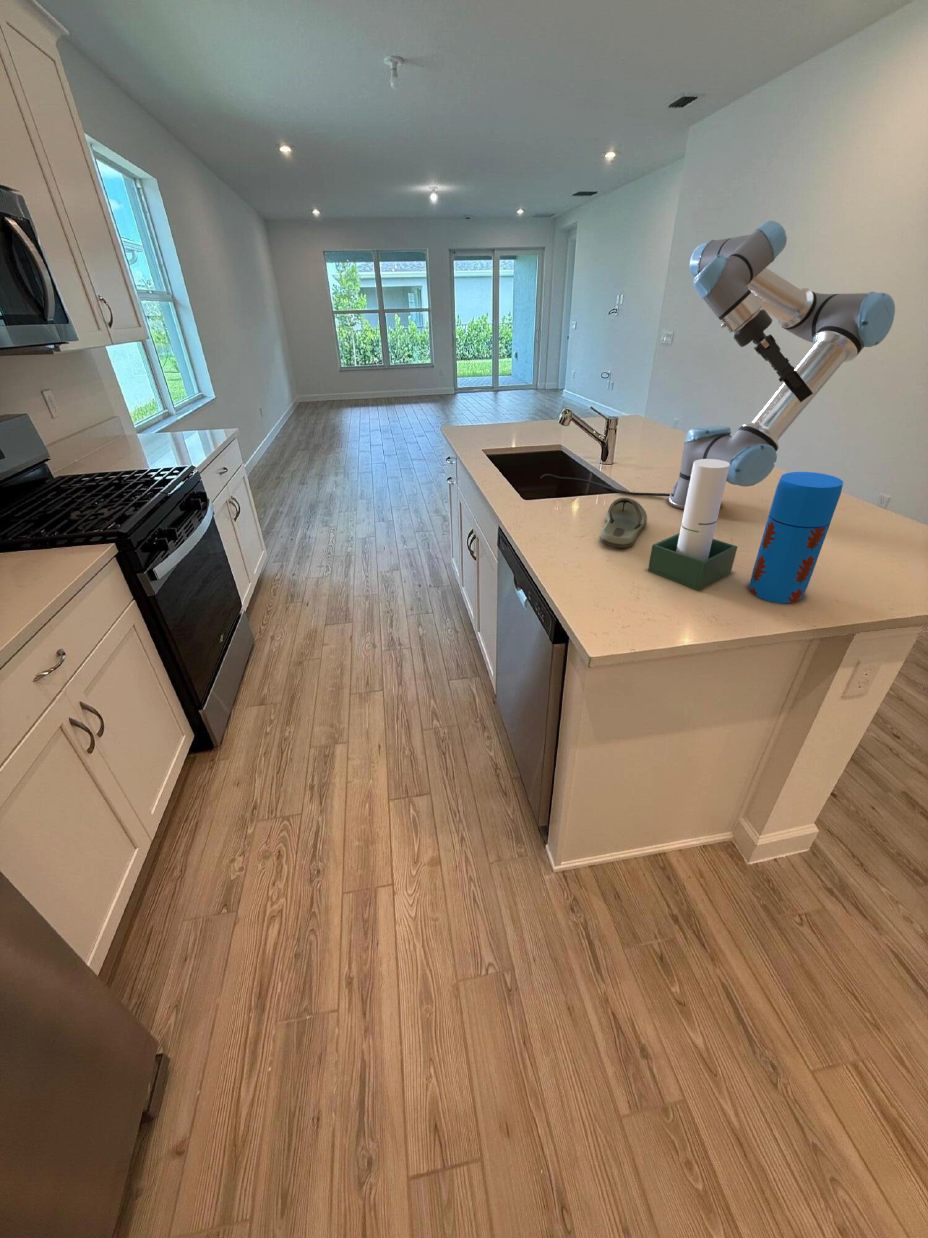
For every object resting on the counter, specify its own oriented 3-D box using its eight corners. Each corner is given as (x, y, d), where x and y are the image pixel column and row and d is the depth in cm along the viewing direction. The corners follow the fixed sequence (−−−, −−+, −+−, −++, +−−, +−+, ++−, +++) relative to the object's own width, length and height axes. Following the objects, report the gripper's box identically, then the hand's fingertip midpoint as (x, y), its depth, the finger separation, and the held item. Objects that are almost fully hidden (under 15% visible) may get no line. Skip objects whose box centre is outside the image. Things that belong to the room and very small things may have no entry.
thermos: (738, 582, 116) (768, 473, 103) (783, 578, 116) (818, 469, 103) (766, 605, 107) (803, 489, 94) (815, 601, 107) (858, 485, 94)
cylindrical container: (708, 576, 117) (733, 468, 104) (675, 574, 119) (696, 467, 106) (702, 562, 123) (725, 458, 110) (671, 561, 125) (690, 458, 111)
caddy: (647, 570, 123) (652, 544, 119) (680, 554, 129) (685, 529, 126) (698, 590, 114) (704, 563, 110) (730, 572, 120) (737, 546, 116)
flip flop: (610, 511, 158) (613, 484, 153) (650, 515, 153) (654, 488, 149) (588, 547, 136) (591, 517, 131) (634, 553, 131) (638, 523, 127)
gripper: (729, 331, 128) (779, 396, 131) (733, 338, 109) (793, 414, 111) (758, 305, 123) (809, 373, 126) (768, 308, 104) (829, 388, 107)
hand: (802, 392), depth 119 cm, fingers open, 13 cm apart
